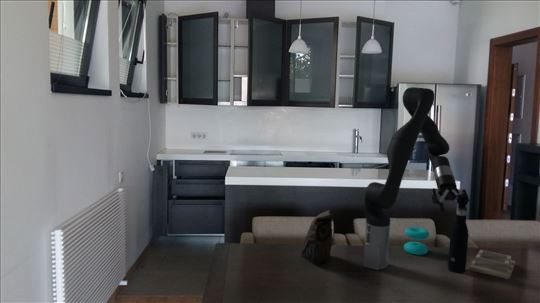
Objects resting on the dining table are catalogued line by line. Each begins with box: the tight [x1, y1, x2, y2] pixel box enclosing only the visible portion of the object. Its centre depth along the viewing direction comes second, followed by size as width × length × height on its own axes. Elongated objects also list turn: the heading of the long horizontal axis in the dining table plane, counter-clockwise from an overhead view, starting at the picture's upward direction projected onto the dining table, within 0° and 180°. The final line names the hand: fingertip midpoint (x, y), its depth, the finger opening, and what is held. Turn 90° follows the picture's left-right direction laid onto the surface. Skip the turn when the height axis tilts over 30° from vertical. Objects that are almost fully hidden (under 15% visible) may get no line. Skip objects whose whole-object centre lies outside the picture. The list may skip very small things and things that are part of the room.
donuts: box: [403, 226, 430, 256], centre depth 186 cm, size 10×10×10 cm
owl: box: [300, 209, 334, 266], centre depth 173 cm, size 13×13×20 cm
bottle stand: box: [468, 249, 516, 280], centre depth 171 cm, size 18×14×4 cm
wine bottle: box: [447, 194, 469, 274], centre depth 166 cm, size 6×6×30 cm
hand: (453, 212), depth 171 cm, fingers open, 8 cm apart
